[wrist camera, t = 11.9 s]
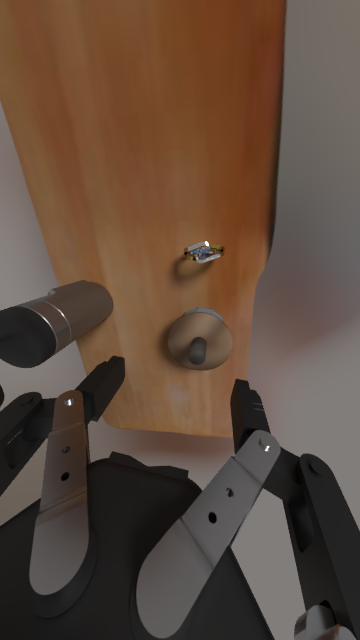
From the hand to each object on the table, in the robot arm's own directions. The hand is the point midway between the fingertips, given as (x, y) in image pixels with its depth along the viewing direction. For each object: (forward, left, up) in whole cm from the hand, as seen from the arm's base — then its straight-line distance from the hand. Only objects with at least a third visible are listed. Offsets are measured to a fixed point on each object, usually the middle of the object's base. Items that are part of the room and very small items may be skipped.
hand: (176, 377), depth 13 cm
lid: (+6, -8, -23) cm, 25 cm away
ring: (-4, +6, -28) cm, 29 cm away
